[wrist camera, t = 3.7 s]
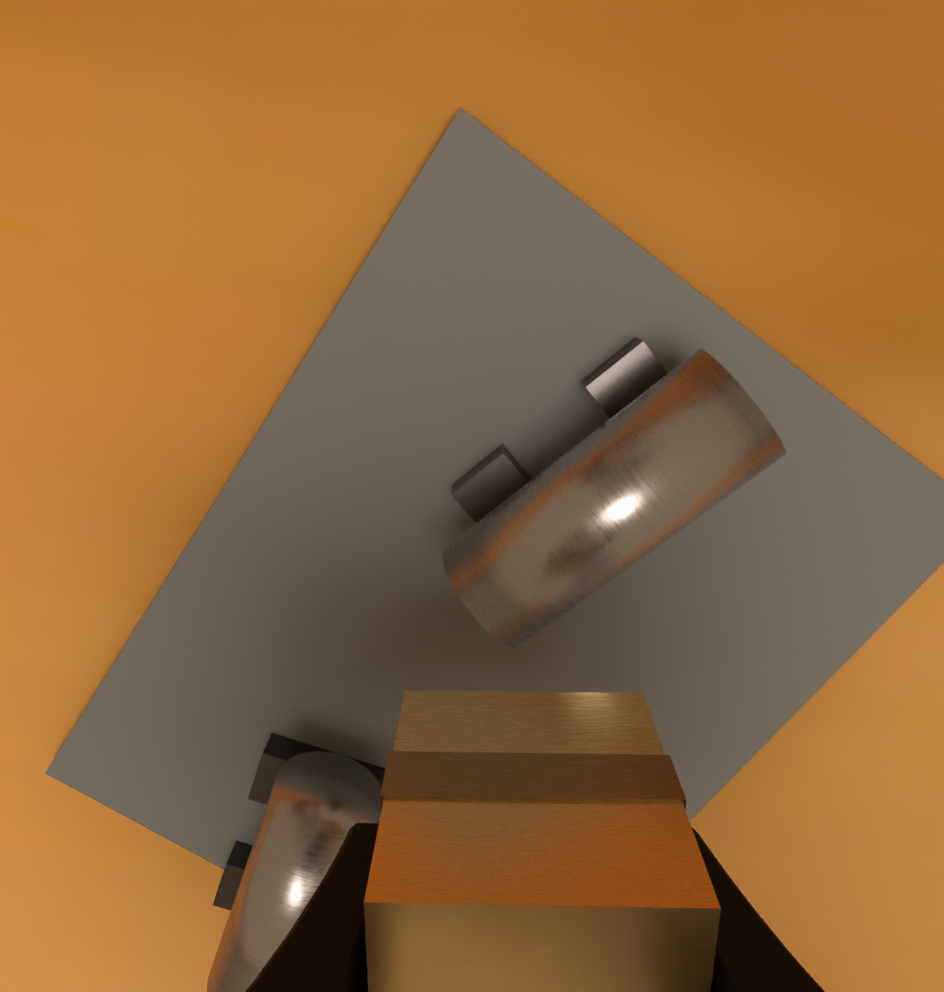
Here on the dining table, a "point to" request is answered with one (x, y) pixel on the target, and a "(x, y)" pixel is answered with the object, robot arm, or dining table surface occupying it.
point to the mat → (440, 520)
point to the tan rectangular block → (535, 851)
